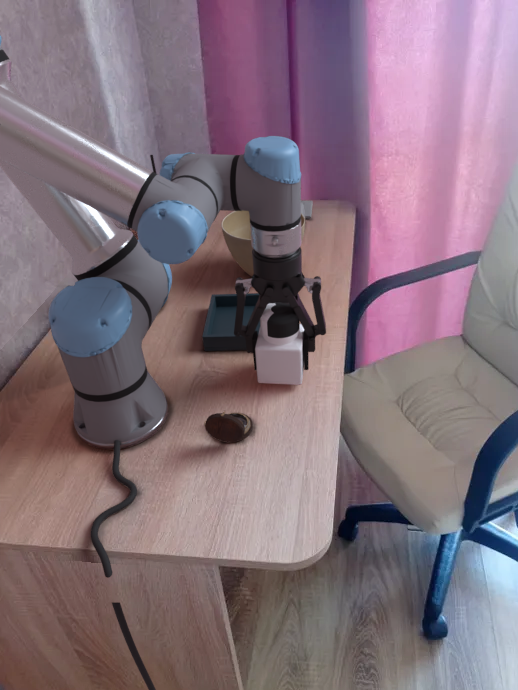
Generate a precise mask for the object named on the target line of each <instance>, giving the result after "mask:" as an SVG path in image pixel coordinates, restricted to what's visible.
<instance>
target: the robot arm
mask: <svg viewBox="0 0 518 690" xmlns="http://www.w3.org/2000/svg"><path fill="white" fill-rule="evenodd" d="M2 39H3V38H2V35H1V34H0V168H1V170H2V171H3V172H4V174H5V175H6V176H7V177H8V179H9V180H10V182H12V184H13V185H14V186H15V187H16V189H17V190H18V192H20V194H21V195H22V196H23V198H24V199H25V200H26V202H27V203H28V204H29V205H30V207H31V208H32V209H33V210H34V212H35V213H36V214H37V215H38V217H39V218H40V219H41V220H42V222H43V223H44V224H45V225H46V227H47V228H48V229H49V230H50V232H51V233H52V235H54V237H55V238H56V240H57V241H58V242H59V243H60V245H61V246H62V247H63V248H64V249H65V251H66V252H67V253H68V255H69V256H70V257H71V259H72V262H71V274H72V275H73V276H74V278H75V279H76V280H77V281H75V282H74V285H67V286H65V287H64V288H62V289H61V290H60V291H59V292H58V293H57V294H56V295H55V296H54V298H53V299H52V301H51V302H50V305H49V308H48V313H47V315H48V323H49V325H50V332H51V336H52V340H53V341H54V344H55V345H56V346H57V349H58V352H59V355H60V357H61V360H62V362H63V365H64V368H65V371H66V373H67V376H68V378H69V382H70V384H71V386H72V389H73V391H74V392H73V393H74V394H73V395H74V397H73V414H72V419H73V425H74V429H75V431H76V433H77V435H78V437H79V438H80V440H81V441H82V442H84V443H85V444H86V445H88V446H90V447H92V448H96V449H99V450H113V456H112V457H113V458H112V465H111V466H112V467H111V471H112V475H113V477H114V479H115V480H116V481H117V482H119V483H120V484H122V485H123V486H125V487H126V488H127V489H128V490H129V493H128V496H127V497H126V498H125V499H124V500H122V501H121V502H119V503H117V504H115V505H113V506H111V507H109V508H107V509H105V510H104V511H103V512H101V513H100V514H98V516H97V517H96V518H95V519H94V521H92V525H91V527H90V533H89V535H90V542H91V544H92V546H93V548H94V550H95V551H96V553H97V555H98V557H99V559H100V563H101V565H102V571H103V573H104V576H105V578H107V579H109V578H111V577H112V576H113V567H112V565H111V560H110V558H109V555H108V553H107V551H106V549H105V547H104V545H103V544H102V542H101V539H100V537H99V529H100V527H101V525H102V523H103V521H105V520H106V519H107V518H109V517H110V516H112V515H115V514H116V513H118V512H120V511H122V510H125V509H126V508H127V507H128V506H130V505H131V504H132V503H133V502H134V501H135V500H136V497H137V494H138V489H137V486H136V484H135V483H134V482H133V481H131V480H130V479H128V478H126V477H125V476H124V475H123V474H122V473H121V472H120V460H121V449H126V448H130V447H133V446H136V445H139V444H141V443H143V442H145V441H147V440H148V439H150V438H151V437H153V436H154V435H156V433H158V432H159V431H160V430H161V428H162V427H163V426H164V424H166V421H167V419H168V416H169V405H168V400H167V398H166V395H165V393H164V391H163V389H162V388H161V387H160V385H159V384H158V382H157V381H156V380H155V379H154V377H153V376H152V375H151V373H150V372H149V370H148V367H147V364H146V363H147V362H146V359H145V355H144V352H143V346H142V345H143V342H144V341H143V340H144V339H145V337H146V335H147V333H148V332H149V330H150V328H151V326H152V325H153V323H154V321H155V320H156V318H157V317H158V314H159V313H160V312H161V310H162V308H163V307H164V306H165V304H166V302H167V301H168V298H169V294H170V291H171V288H172V284H173V274H172V269H171V266H170V265H180V264H182V263H185V262H187V261H189V260H190V259H191V258H192V257H193V256H194V255H195V253H196V252H197V250H198V249H199V248H200V247H201V245H202V244H204V243H205V241H206V239H207V238H208V232H209V231H210V229H211V227H212V225H213V223H214V222H215V220H216V219H217V217H218V215H219V213H220V211H230V212H234V211H249V215H250V230H251V245H252V247H253V250H252V258H253V272H254V274H253V276H251V278H245V279H244V278H243V277H237V278H236V279H235V284H234V290H235V294H236V295H237V298H238V299H237V308H236V317H235V327H234V335H235V336H240V335H241V336H243V337H245V339H246V350H245V351H246V352H247V354H252V358H253V370H254V371H257V367H256V354H255V347H256V343H257V338H258V332H257V331H255V329H256V327H257V325H258V323H259V321H260V318H261V316H262V314H263V312H264V310H265V309H266V307H267V304H268V302H269V303H277V302H280V303H288V302H289V304H290V306H291V308H292V309H293V310H294V312H295V313H296V315H297V317H298V319H299V323H300V324H302V326H303V328H304V370H305V371H309V367H310V366H309V353H315V351H316V337H318V336H319V335H320V336H325V335H326V334H327V325H326V318H325V313H324V308H323V302H322V297H321V291H322V278H321V277H320V276H319V275H318V276H317V275H316V276H313V278H311V277H305V275H304V274H303V265H302V264H303V263H302V261H303V260H302V258H303V257H302V255H303V253H302V248H301V247H300V246H302V244H301V201H302V172H301V166H300V165H301V163H300V150H299V146H298V145H297V143H296V142H295V141H293V140H292V139H290V138H288V137H284V136H280V135H279V136H278V135H267V136H259V137H255V138H253V139H250V140H249V141H248V142H247V143H246V144H245V146H244V153H242V154H219V153H195V152H189V151H188V152H184V153H171V154H167V156H165V157H164V159H163V160H162V162H161V167H160V169H159V174H158V173H157V172H156V173H155V172H153V170H150V169H149V168H147V167H145V166H143V165H142V164H140V163H138V162H136V161H135V160H133V159H131V158H129V157H128V156H125V155H124V154H122V153H120V152H118V151H117V150H115V149H114V148H112V147H110V146H108V145H107V144H104V143H102V142H101V141H99V140H97V139H95V138H93V137H92V136H90V135H88V134H86V133H85V132H83V131H81V130H79V129H78V128H75V127H74V126H73V125H70V124H68V123H67V122H65V121H63V120H61V119H60V118H58V117H56V116H54V115H53V114H51V113H49V112H47V111H45V110H43V108H40V107H38V106H37V105H35V104H33V103H31V102H30V101H28V100H26V98H25V97H24V96H23V94H22V93H21V92H20V90H19V89H18V88H17V86H16V85H15V83H14V82H13V81H12V80H13V79H12V60H11V59H10V57H9V56H8V54H7V53H6V51H5V50H4V49H3V47H2V46H1V45H2V41H3V40H2ZM113 220H114V221H116V222H119V223H120V224H122V225H124V226H125V227H127V228H130V229H131V230H129V229H125V228H120V227H118V226H117V225H116V224H115V223H114V221H113ZM132 230H133V231H135V233H136V232H137V233H136V234H137V237H136V236H135V234H134V232H133V231H132ZM304 287H305V288H306V289H307V292H308V293H309V294H311V301H312V305H313V310H314V316H315V321H316V323H315V324H314V322H313V320H312V319H311V316H310V315H309V313H308V311H307V309H306V307H305V305H304V303H303V301H302V299H301V297H300V292H301V291H302V289H303V288H304ZM250 288H253V290H254V291H256V293H258V294H259V299H258V301H257V303H256V306H255V308H254V310H253V312H252V315H251V317H250V319H249V322H248V324H247V325H246V326H244V325H242V323H243V314H244V306H245V297H246V294H247V293H249V292H250V290H251V289H250ZM304 370H303V371H304ZM111 606H112V608H113V611H114V614H115V617H116V620H117V622H118V626H119V628H120V631H121V634H122V636H123V638H124V641H125V643H126V645H127V648H128V650H129V652H130V654H131V655H130V656H131V657H132V660H133V661H134V663H135V665H136V667H137V669H138V672H139V673H140V675H141V677H142V679H143V681H144V683H145V685H146V688H147V689H148V690H157V688H156V687H155V685H154V682H153V681H152V678H151V676H150V675H149V672H148V670H147V668H146V666H145V664H144V662H143V660H142V657H141V655H140V653H139V651H138V648H137V646H136V643H135V640H134V638H133V636H132V634H131V630H130V628H129V625H128V623H127V620H126V616H125V613H124V610H123V607H122V605H121V602H120V601H119V602H117V601H116V602H114V601H113V602H111Z"/></svg>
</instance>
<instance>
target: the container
mask: <svg viewBox="0 0 518 690" xmlns="http://www.w3.org/2000/svg"><path fill="white" fill-rule="evenodd" d="M255 354H256V367H257V370H256V378H257V383H258V384H273V385H274V384H276V385H296V386H298V385H299V386H300V385H302V384H303V378H304V328H303V326H302V324H301V323H300V321H299V319H298V317H297V315H296V313H295V312H294V310H293V309H292V308H291V306H290V304H289V303H280V302H277V303H269V304H267V307H266V309H265V310H264V312H263V314H262V316H261V318H260V329H259V334H258V338H257V343H256V347H255Z"/></svg>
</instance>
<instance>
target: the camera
mask: <svg viewBox="0 0 518 690" xmlns="http://www.w3.org/2000/svg"><path fill="white" fill-rule="evenodd" d="M313 203H314V202H313V200H301V213H302V215H303V216H304V217H305V219H312V213H313Z"/></svg>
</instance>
